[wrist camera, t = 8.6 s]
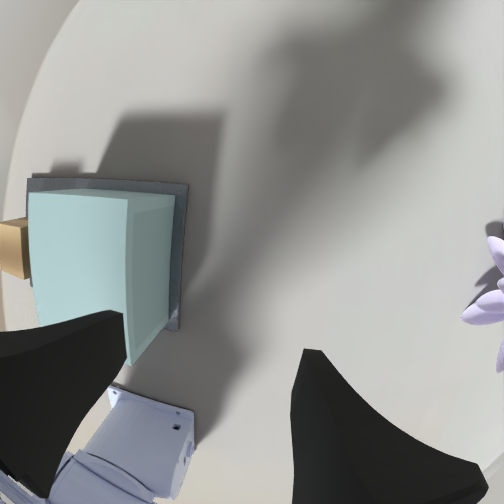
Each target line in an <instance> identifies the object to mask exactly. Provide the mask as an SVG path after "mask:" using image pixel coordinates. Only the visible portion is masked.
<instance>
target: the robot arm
mask: <svg viewBox="0 0 504 504" xmlns="http://www.w3.org/2000/svg"><path fill="white" fill-rule="evenodd" d="M126 359H127V351H126V342H125V331H124V318H123V313H120V312H117V311H113V310H104V311H100V312H96V313H92V314H88V315H85V316H81V317H78V318H74V319H71V320H67V321H63V322H60V323H55V324H51V325H47V326H43V327H38V328H33V329H27V330H19V331H8V332H0V491H1V492H2V493H3V494H4V495H6V496H7V497H8V498H9V499H10V500H11V501H12V502H14V503H15V504H157V503H155V502H152V501H153V499H154V497H159V498H165V499H169V500H175V498H176V497H177V495H178V493H179V491H180V489H181V486H182V483H183V480H184V477H185V474H186V472H187V469H188V466H189V463H190V460H191V457H192V455H193V454H194V445H195V443H194V413H193V412H192V411H190V410H186V409H182V408H178V407H174V406H171V405H167V404H164V403H160V402H157V401H154V400H151V399H148V398H144V397H141V396H138V395H136V394H133V393H130V392H127V391H124V390H122V389H119V388H116V387H114V386H109V385H110V384H111V383H112V382H113V380H114V379H115V378H116V376H117V375H118V373H119V371H120V370H121V368H122V366H123V364H124V362H125V361H126ZM106 389H107V391H108V395H109V399H110V403H111V407H112V410H111V411H110V413H109V414H108V416H107V417H106V418H105V420H104V421H103V422H102V424H101V425H100V427H99V428H98V429H97V431H96V432H95V434H94V435H93V436H92V438H91V439H90V441H89V442H88V443H87V445H86V446H85V448H84V449H83V450H81V449H79V450H78V452H77V453H76V454H75V456H74V455H73V454H72V453H71V452H69V451H68V452H65V451H66V449H67V447H68V445H69V443H70V441H71V439H72V437H73V435H74V434H75V432H76V430H77V428H78V427H79V425H80V423H81V421H82V420H83V419H84V417H85V416H86V414H87V413H88V412H89V410H90V409H91V408H92V407H93V405H94V404H95V403H96V402H97V400H98V399H99V398H100V397H101V395H102V394H103V393H104V392H105V390H106ZM290 420H291V434H292V447H293V461H294V484H293V498H292V504H477V503H478V502H479V501H480V500H481V499H482V498H483V497H484V496H485V494H486V492H487V490H488V488H489V486H488V484H487V482H486V480H485V478H484V476H483V474H482V472H481V470H480V468H479V466H478V464H476V463H473V462H469V461H466V460H463V459H460V458H457V457H454V456H451V455H448V454H445V453H443V452H441V451H439V450H436V449H434V448H432V447H430V446H428V445H426V444H424V443H422V442H420V441H418V440H417V439H415V438H413V437H412V436H410V435H408V434H407V433H405V432H404V431H402V430H400V429H399V428H398V427H396V426H395V425H393V424H392V423H390V422H389V421H388V420H387V419H385V418H384V417H383V416H382V415H380V414H379V413H378V412H377V411H376V410H374V409H373V408H372V407H371V406H370V405H369V404H368V403H367V402H366V401H365V400H364V399H363V398H362V397H361V396H360V395H359V394H358V393H357V392H356V391H355V390H354V389H353V388H352V387H351V386H350V385H349V384H348V382H347V381H346V380H345V379H344V378H343V377H342V375H341V374H340V373H339V372H338V371H337V369H336V368H335V367H334V366H333V364H332V363H331V362H330V361H329V359H328V358H327V357H326V356H325V354H324V353H323V352H322V351H321V350H313V349H304V350H303V353H302V357H301V361H300V365H299V368H298V372H297V375H296V379H295V382H294V386H293V389H292V393H291V411H290ZM8 475H9V476H11V477H12V478H13V479H14V480H15V481H17V482H18V481H19V482H20V483H21V484H22V485H23V486H25V487H26V488H27V489H29V490H30V491H31V492H33V493H34V494H33V496H30V495H29V494H28V493H27V492H25V491H24V490H23V489H22V488H21V487H19V486H18V485H17V484H16V483H15V482H13V481H12V480H11V479H10V478H9V477H8ZM0 504H6V503H5V502H4V501H3V500H2V499H1V498H0Z"/></svg>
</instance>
